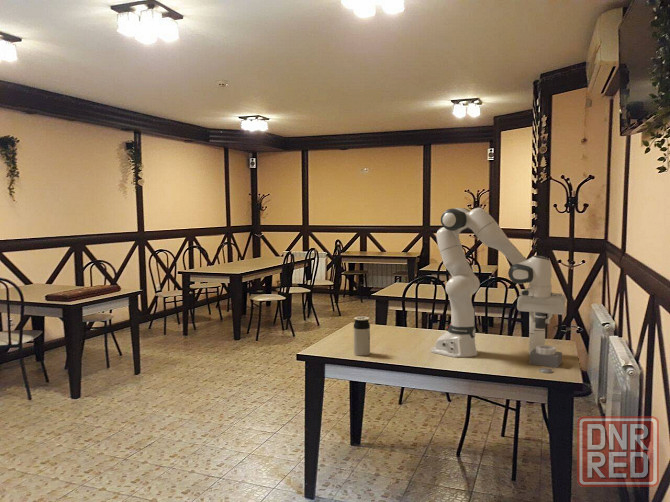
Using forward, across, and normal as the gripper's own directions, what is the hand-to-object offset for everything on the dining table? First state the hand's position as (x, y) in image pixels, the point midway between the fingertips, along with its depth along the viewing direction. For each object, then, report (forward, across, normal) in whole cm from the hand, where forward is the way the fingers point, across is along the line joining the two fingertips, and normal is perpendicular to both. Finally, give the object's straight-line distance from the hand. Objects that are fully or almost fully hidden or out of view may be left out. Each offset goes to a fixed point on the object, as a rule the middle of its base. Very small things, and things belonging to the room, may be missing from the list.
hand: (540, 322), depth 229 cm
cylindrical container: (+20, +6, -18) cm, 27 cm away
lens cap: (+20, -4, +8) cm, 22 cm away
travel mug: (+19, +77, +29) cm, 85 cm away
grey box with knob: (+20, -1, -5) cm, 20 cm away
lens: (+2, 0, 0) cm, 2 cm away
